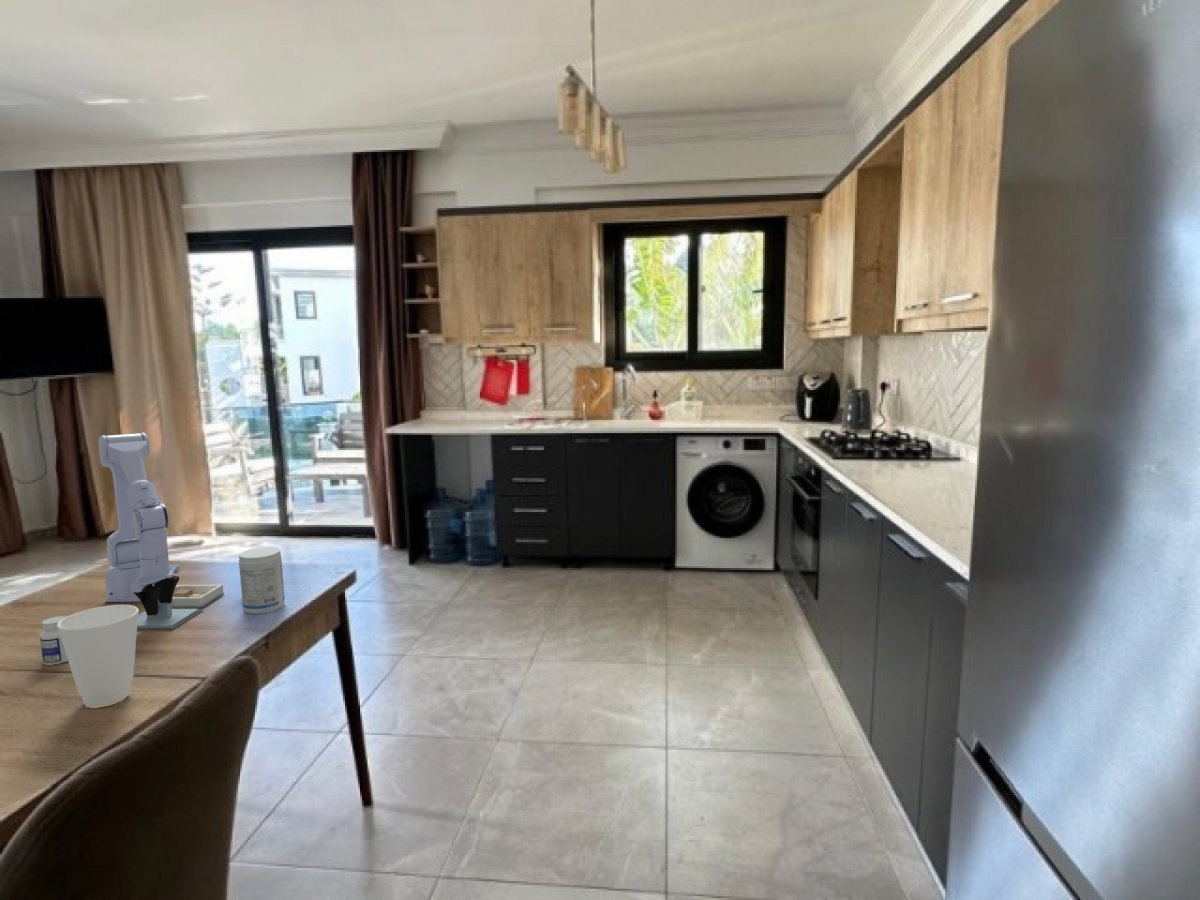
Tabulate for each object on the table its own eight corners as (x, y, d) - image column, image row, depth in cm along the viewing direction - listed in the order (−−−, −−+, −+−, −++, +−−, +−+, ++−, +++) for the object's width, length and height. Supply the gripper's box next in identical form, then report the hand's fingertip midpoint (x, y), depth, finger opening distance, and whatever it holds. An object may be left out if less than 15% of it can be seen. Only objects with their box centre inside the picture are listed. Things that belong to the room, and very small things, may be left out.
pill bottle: (67, 652, 139) (62, 613, 138) (81, 657, 137) (76, 617, 135) (37, 663, 134) (32, 622, 133) (51, 668, 132) (46, 626, 131)
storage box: (153, 608, 164) (152, 598, 164) (178, 594, 174) (177, 584, 174) (200, 608, 164) (200, 598, 164) (223, 594, 174) (222, 584, 174)
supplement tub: (255, 600, 169) (251, 546, 167) (291, 601, 169) (288, 546, 167) (234, 615, 160) (230, 557, 158) (273, 615, 159) (268, 557, 157)
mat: (114, 630, 150) (114, 629, 150) (148, 611, 162) (148, 610, 162) (172, 630, 150) (172, 628, 150) (202, 611, 162) (202, 610, 162)
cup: (55, 722, 112) (45, 634, 110) (78, 690, 123) (69, 610, 121) (138, 707, 117) (129, 622, 114) (153, 678, 127) (145, 600, 125)
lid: (118, 628, 151) (116, 612, 151) (148, 611, 161) (147, 596, 161) (171, 627, 151) (170, 612, 151) (198, 611, 161) (197, 596, 161)
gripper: (150, 565, 147) (155, 622, 149) (189, 547, 161) (194, 599, 163) (118, 565, 147) (124, 622, 149) (161, 547, 161) (166, 600, 163)
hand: (159, 610), depth 156 cm, fingers open, 4 cm apart
